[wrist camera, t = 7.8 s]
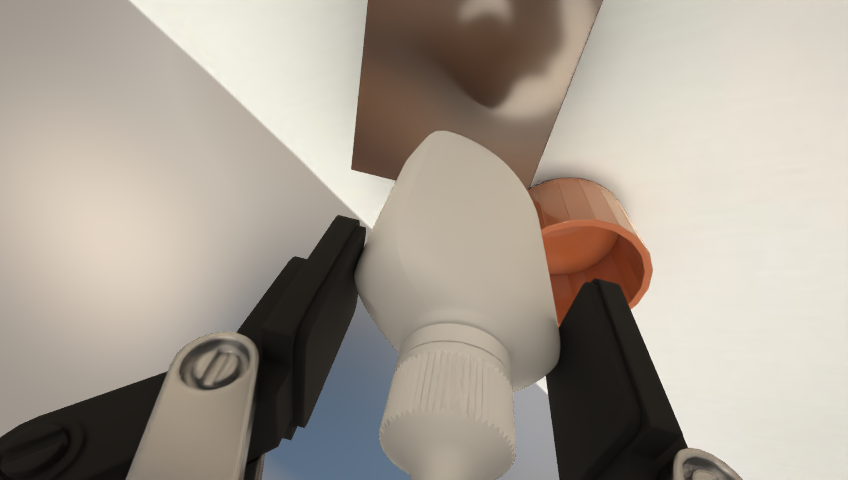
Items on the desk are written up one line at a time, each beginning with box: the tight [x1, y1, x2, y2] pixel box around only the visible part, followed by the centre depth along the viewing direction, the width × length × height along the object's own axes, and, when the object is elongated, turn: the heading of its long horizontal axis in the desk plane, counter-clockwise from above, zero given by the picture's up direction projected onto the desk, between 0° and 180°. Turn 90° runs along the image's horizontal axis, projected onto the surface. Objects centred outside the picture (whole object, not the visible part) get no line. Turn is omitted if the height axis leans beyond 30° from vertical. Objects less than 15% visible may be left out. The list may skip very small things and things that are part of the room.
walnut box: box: [351, 0, 603, 192], centre depth 25 cm, size 14×12×4 cm
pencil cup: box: [528, 178, 653, 328], centre depth 30 cm, size 10×10×6 cm
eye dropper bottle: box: [354, 131, 560, 480], centre depth 11 cm, size 4×6×12 cm
